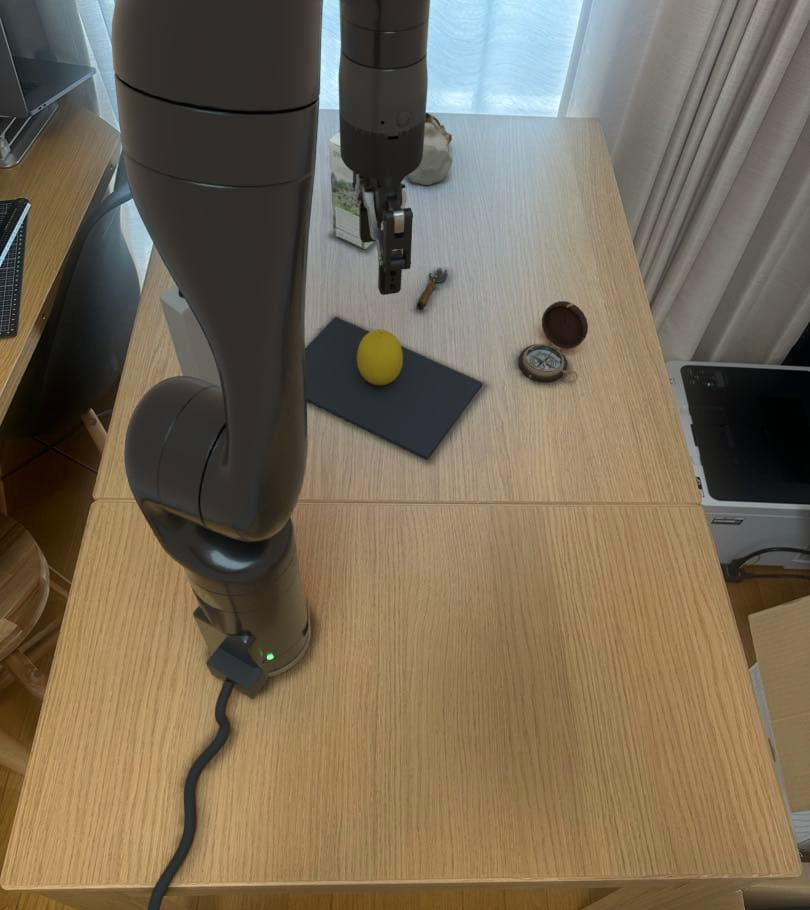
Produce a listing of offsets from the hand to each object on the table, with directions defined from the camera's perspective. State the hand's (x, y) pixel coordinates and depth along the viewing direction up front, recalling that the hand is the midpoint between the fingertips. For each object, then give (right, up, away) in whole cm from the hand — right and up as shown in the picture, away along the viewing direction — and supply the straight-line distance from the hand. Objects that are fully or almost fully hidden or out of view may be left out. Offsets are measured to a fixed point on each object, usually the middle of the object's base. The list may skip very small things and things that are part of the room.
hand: (379, 265), depth 77 cm
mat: (-1, -9, +15) cm, 18 cm away
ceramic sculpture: (+5, +31, +41) cm, 51 cm away
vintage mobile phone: (-20, -12, +13) cm, 27 cm away
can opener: (+6, +6, +25) cm, 26 cm away
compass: (+22, -6, +18) cm, 29 cm away
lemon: (-1, -9, +15) cm, 18 cm away
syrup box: (-4, +16, +31) cm, 35 cm away
